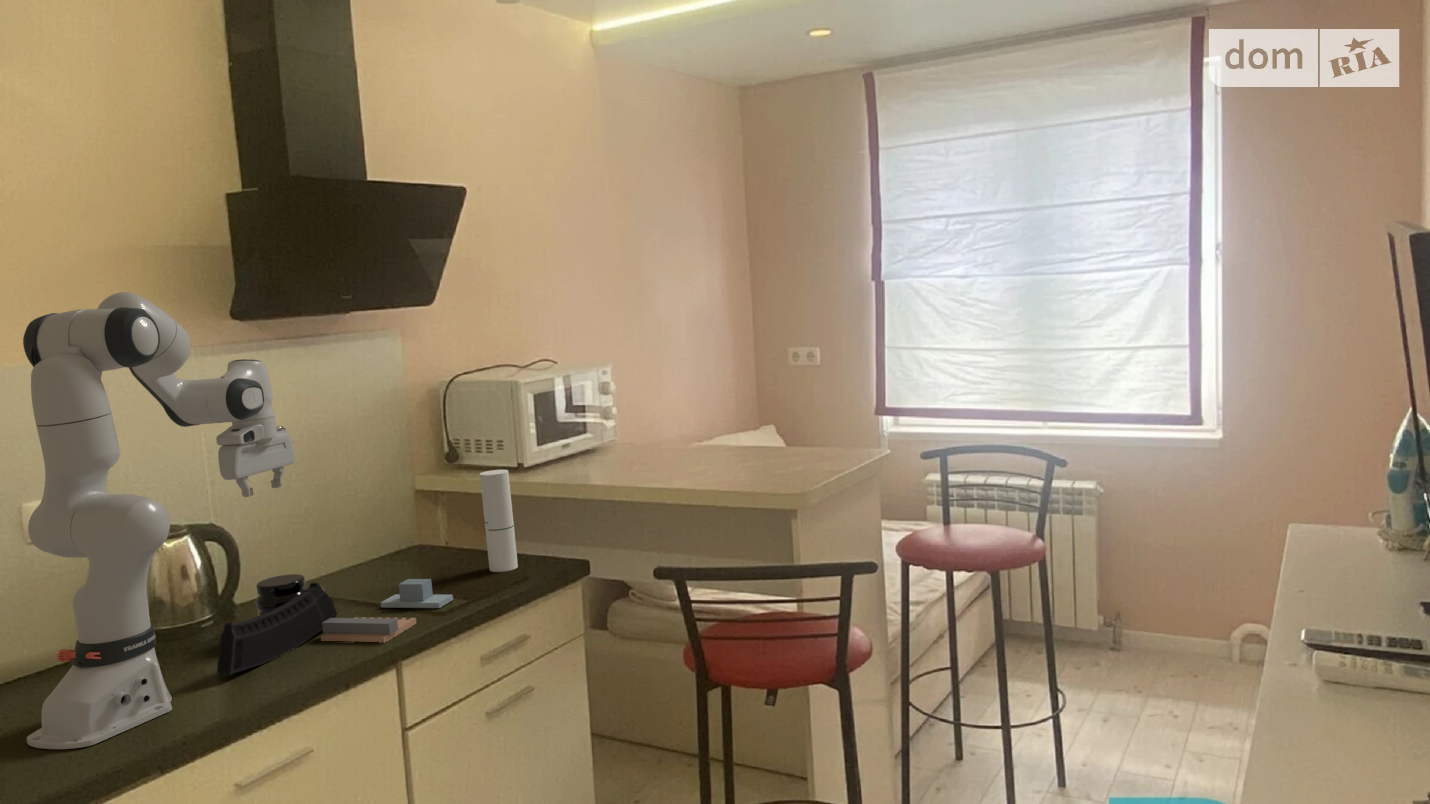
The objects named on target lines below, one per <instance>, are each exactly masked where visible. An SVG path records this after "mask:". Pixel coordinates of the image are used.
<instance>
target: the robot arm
mask: <svg viewBox="0 0 1430 804" xmlns="http://www.w3.org/2000/svg"><path fill="white" fill-rule="evenodd" d="M191 342H192V341H191V338H190V335H189V333H188V331H187V330H186V329H185V328H184V327H183V326H182V325H181V324H180V323H179V322H178V321H177V320H176V319H175V318H174V317H172V316H171V315H169V313H167V312H166V311H165V310H163V309H162V308H161V307H159V306H158V305H157V304H154V303H153V302H151V301H149V300H148V299H146V298H144V297H142V296H140V294H139V295H138V294H136V293H133V292H126V291H123V292H116V293H113V294H111V295H109V296H107V297H106V298H105V299H103V300H102V302H101V303H100V304H98V307H97V308H94V309H92V308H81V309H74V310H68V311H65V312H59V313H55V312H51V313H48V314H44V315H41V316H39V317H38V316H37V317H36V318H34V319H33V320H30V322H29V323H28V325H27V327H26V328H25V331H24V334H23V338H22V344H23V351H24V352H25V356H26V358H27V360H28V362H29V364H31V367H33V368H32V370H31V374H30V393H31V395H30V396H31V403H32V404H31V405H32V411H33V416H34V417H33V418H34V421H35V422H34V423H35V427H36V430H37V435H38V438H39V439H38V440H39V443H40V449H41V453H42V456H43V457H42V458H43V461H44V463H43V464H44V472H45V473H44V474H45V475H44V477H45V478H44V487H43V494H42V497H41V500H40V502H39V504H38V506H37V507H36V508H35V509H34V510H33V512H32V514H31V515H30V517H29V521H28V525H27V528H28V529H27V531H28V536H29V540H30V541H31V543H32V544H33V546H34V547H36V548H37V549H38V550H39V551H42V552H45V553H48V554H51V555H54V556H59V557H62V558H71V559H72V558H75V559H76V558H85V559H86V558H87V559H88V562H89V563H88V566H89V567H88V572H87V573H88V574H87V578H86V580H85V583H84V584H83V585H82V586H80V587H79V588H78V589H77V590H76V591H75V592H74V595H73V597H72V607H73V615H74V620H75V627H76V628H75V629H76V633H77V640H76V642H75V645H74V649H65V648H62V649H60V650H58V651H57V654H56V658H57V660H58V661H59V662H71V665H72V666H71V667H70V668H69V670H68V671H67V673H65V675H64V676H63V678H62V679H61V680H60V682H59V683H58V684H57V685H56V686H55V688H53V690H52V692H51V693H50V694H49V695H48V696H47V697H46V698H45V700H44V702H43V703H42V707H41V716H40V717H41V721H40V722H41V728H39V729H37V730H36V731H33V732H32V733H31V734H29V735H28V736H27V737H26V744H27V745H28V746H30V747H33V748H37V749H45V750H46V749H47V750H71V749H79V748H86V747H91V746H93V745H96V744H98V743H101V742H102V741H105V740H108V739H109V738H112V737H114V736H116V735H119V734H121V733H123V732H126V731H128V730H130V729H133V728H135V727H137V726H139V725H142V724H143V723H144V724H145V723H146V722H148V721H151V720H152V719H153V720H154V719H155V718H157V717H160V716H163V715H165V714H166V713H170V711H171V712H172V710H173V706H172V703H171V702H172V699H173V698H172V695H171V694H170V691H169V690H168V687H167V685H166V683H165V680H164V677H163V674H162V670H161V668H160V663H159V660H158V658H157V654H156V649H155V648H156V647H155V646H156V645H157V640H156V639H157V638H156V633H155V627H154V625H153V624H152V623H151V617H150V610H149V601H148V591H147V590H148V588H147V584H148V583H147V582H148V574H149V569H150V566H151V563H152V559H153V558H154V556H155V554H156V553H157V551H158V550H159V549H160V548H162V546H163V545H164V543H165V542H166V540H167V539H168V537H169V534H170V530H171V529H170V528H171V519H170V515H169V512H168V511H167V510H168V509H166V507H165V506H164V505H163V504H162V503H161V502H160V501H158V500H155V499H153V498H149V497H145V496H142V495H138V494H132V493H131V494H129V493H127V494H109V492H108V491H107V489H108V488H107V481H108V474H109V472H110V471H109V470H110V469H111V468H113V466H115V464H116V463H117V462H118V461H119V458H120V456H121V455H120V454H121V448H120V445H119V440H118V435H117V431H116V427H115V426H116V425H115V420H114V418H113V413H112V408H111V405H110V401H109V398H108V394H107V392H106V389H105V387H104V383H103V381H102V375H103V372H106V371H114V370H118V369H123V368H128V369H129V371H130V373H131V374H132V376H133V377H134V378H135V379H136V380H137V382H139V383H140V384H141V386H142V387H143V388H145V390H147V391H148V393H150V395H151V396H152V397H153V398H154V399H155V400H156V401H158V402H159V404H160V405H161V406H162V407H163V410H164V411H165V414H166V415H167V417H168V418H169V420H171V421H172V422H173V423H174V424H176V425H177V426H180V427H185V428H186V427H194V426H199V425H206V424H207V425H210V424H222V423H231V425H230V426H229V427H228V428H226V429H225V430H223V432H221V433H220V434H218V435H217V436H216V439H215V440H216V444H217V445H218V446H220V447H219V449H218V451H217V452H218V453H217V456H218V465H219V472H220V475H221V477H222V478H223V480H226V481H232V480H235V481H236V484H237V486H238V487H239V489H240V490H241V496H242V497H243V498H248V497H252V496H253V495H254V488H253V487H250V485H249V484H248V482H249V476H254V475H257V474H261V473H265V472H268V471H272V473H273V478H272V480H270V483H271V488H272V489H278V488H282V487H283V481H282V479H283V476H284V474H285V467H286V466H290V465H293V464H294V463H295V460H296V456H295V451H294V446H293V442H292V441H293V440H292V439H291V436H290V435H289V431H288V429H286V428H285V427H284V426H283V425H278V426H277V424H276V414H275V412H274V409H273V405H272V403H273V402H272V401H273V391H272V386H271V385H272V384H271V380H270V375H269V372H268V369H267V366H266V364H265V363H264V362H263V361H260V360H258V359H251V358H250V359H233V360H231V361H229V362H228V364H227V370H226V372H225V373H224V374H223V375H221V376H220V377H218V378H207V379H204V378H203V379H183V378H179V377H177V375H176V374H175V373H176V372H178V371H179V370H180V369H181V368H182V367H183V366H184V365H185V363H186V362H187V360H188V359H189V357H190V353H191V346H192V345H191V344H192V343H191Z"/></svg>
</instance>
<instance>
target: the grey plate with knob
mask: <svg viewBox="0 0 1430 804" xmlns="http://www.w3.org/2000/svg"><path fill="white" fill-rule="evenodd" d="M432 584H433V582H432V578H408V579H406V580H404V581H401V582H400V583H398V592H399V593H398V594H396V593H395V594H393V595H392V596H390V597H388V598H386V599H384V600H382V601H380V607H381V608H383V609H384V608H388V609H389V608H390V609H391V608H395V609H396V608H398V609H399V608H402V609H406V608H407V609H409V608H410V609H441V608H443V606H446V605H447V604H449V603H450V602H451V601H454V596H453V594H434V593H433V585H432Z"/></svg>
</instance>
